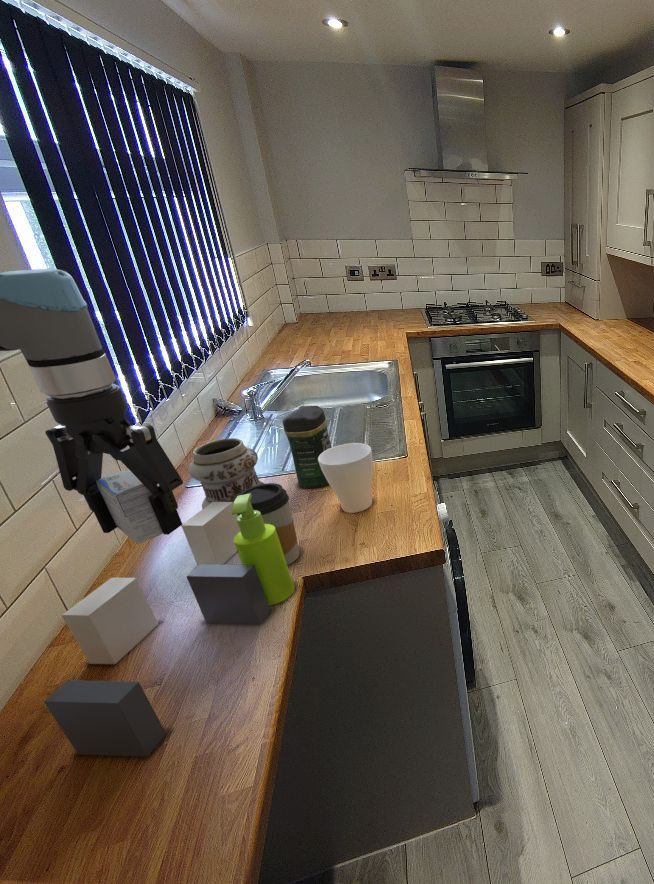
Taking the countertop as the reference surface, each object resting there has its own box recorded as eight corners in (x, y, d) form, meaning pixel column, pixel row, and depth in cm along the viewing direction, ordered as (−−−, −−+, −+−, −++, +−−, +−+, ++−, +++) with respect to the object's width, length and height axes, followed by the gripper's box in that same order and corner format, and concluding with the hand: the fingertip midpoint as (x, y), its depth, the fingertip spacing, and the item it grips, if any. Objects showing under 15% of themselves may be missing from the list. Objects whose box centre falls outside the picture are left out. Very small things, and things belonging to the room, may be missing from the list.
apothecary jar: (243, 503, 119) (218, 431, 112) (289, 509, 117) (267, 435, 109) (196, 534, 108) (165, 457, 101) (246, 541, 106) (217, 462, 98)
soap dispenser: (253, 616, 87) (214, 514, 79) (259, 590, 93) (224, 492, 84) (293, 606, 89) (259, 505, 81) (296, 581, 95) (265, 485, 86)
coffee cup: (298, 542, 105) (278, 477, 99) (312, 560, 100) (292, 493, 94) (251, 561, 100) (227, 493, 94) (263, 581, 95) (238, 511, 88)
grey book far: (206, 625, 85) (185, 576, 81) (219, 611, 88) (200, 563, 84) (260, 626, 85) (242, 577, 81) (271, 612, 88) (254, 564, 83)
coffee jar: (330, 489, 125) (311, 417, 117) (295, 491, 124) (273, 419, 116) (343, 469, 133) (327, 401, 126) (311, 471, 133) (292, 403, 125)
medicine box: (172, 530, 80) (151, 481, 76) (136, 545, 77) (113, 494, 73) (151, 515, 84) (130, 467, 80) (116, 528, 81) (93, 479, 77)
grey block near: (79, 757, 65) (43, 701, 61) (101, 734, 68) (67, 679, 64) (149, 759, 65) (117, 703, 61) (168, 736, 68) (139, 681, 63)
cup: (384, 491, 123) (373, 440, 117) (381, 515, 114) (369, 460, 108) (335, 499, 120) (321, 446, 115) (329, 524, 111) (313, 468, 105)
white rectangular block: (90, 666, 78) (61, 615, 74) (136, 626, 85) (111, 577, 81) (116, 667, 78) (88, 615, 74) (159, 626, 85) (136, 577, 81)
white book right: (199, 570, 98) (180, 525, 94) (228, 544, 105) (212, 501, 101) (220, 570, 98) (202, 525, 94) (247, 544, 105) (232, 501, 101)
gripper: (179, 381, 74) (228, 516, 83) (35, 379, 75) (99, 513, 84) (133, 400, 67) (192, 545, 76) (-25, 398, 68) (52, 541, 77)
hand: (143, 528), depth 80 cm, fingers closed on medicine box, 9 cm apart
